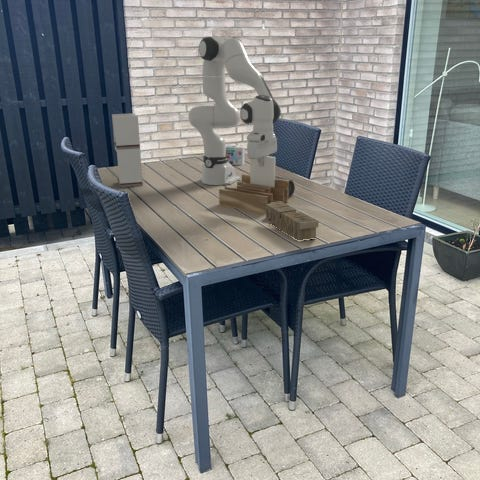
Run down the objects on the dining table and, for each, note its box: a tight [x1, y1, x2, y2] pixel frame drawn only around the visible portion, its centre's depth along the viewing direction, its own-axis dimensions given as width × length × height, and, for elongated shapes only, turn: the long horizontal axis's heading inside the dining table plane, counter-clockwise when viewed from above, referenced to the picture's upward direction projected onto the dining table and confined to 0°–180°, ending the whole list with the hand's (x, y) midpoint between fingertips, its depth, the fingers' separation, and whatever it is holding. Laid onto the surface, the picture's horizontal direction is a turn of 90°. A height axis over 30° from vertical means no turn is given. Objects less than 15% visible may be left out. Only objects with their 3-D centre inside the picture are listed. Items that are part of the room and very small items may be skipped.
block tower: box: [265, 201, 320, 240], centre depth 201 cm, size 8×8×29 cm
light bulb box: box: [226, 144, 245, 166], centre depth 313 cm, size 11×7×11 cm, turn 80°
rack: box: [218, 173, 290, 215], centre depth 229 cm, size 20×24×12 cm
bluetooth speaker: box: [275, 175, 296, 198], centre depth 247 cm, size 23×9×10 cm, turn 47°
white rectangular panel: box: [249, 156, 277, 187], centre depth 233 cm, size 2×12×20 cm, turn 57°
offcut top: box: [236, 183, 271, 194], centre depth 229 cm, size 6×14×2 cm, turn 55°
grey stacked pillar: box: [111, 113, 144, 188], centre depth 263 cm, size 11×11×35 cm
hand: (262, 165), depth 231 cm, fingers closed on white rectangular panel, 2 cm apart
